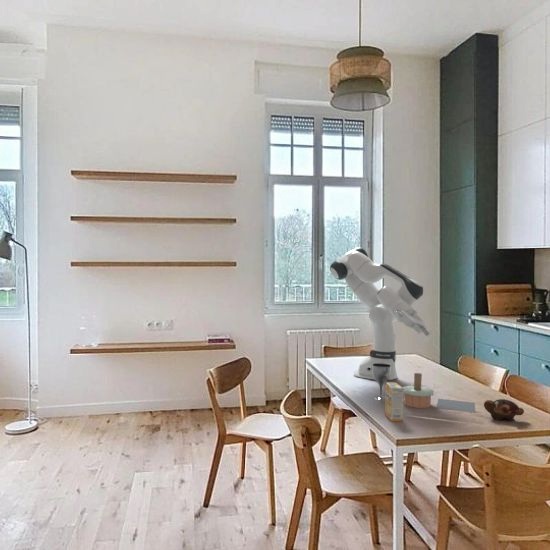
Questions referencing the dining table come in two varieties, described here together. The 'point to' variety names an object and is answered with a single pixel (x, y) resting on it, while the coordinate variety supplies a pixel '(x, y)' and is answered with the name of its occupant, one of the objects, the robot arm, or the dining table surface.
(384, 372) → the wine glass
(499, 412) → the decorative turtle
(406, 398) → the bowl
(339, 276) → the robot arm
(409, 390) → the lid
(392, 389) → the supplement box
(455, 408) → the mat
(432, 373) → the dining table surface
